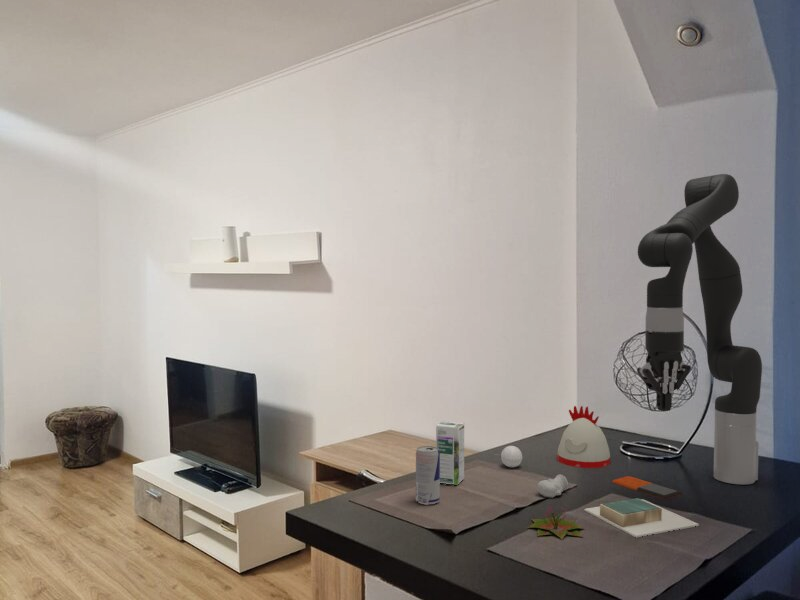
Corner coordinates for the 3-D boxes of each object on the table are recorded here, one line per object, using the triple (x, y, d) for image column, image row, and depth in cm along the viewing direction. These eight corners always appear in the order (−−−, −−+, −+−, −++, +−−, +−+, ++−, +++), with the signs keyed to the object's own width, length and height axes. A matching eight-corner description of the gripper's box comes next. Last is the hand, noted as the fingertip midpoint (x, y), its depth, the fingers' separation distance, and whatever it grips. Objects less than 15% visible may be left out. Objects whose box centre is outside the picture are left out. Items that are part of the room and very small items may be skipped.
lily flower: (522, 519, 142) (522, 498, 142) (580, 520, 141) (580, 498, 141) (530, 542, 130) (530, 519, 130) (593, 543, 129) (593, 520, 129)
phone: (628, 474, 169) (682, 491, 156) (628, 480, 169) (682, 496, 156) (611, 479, 165) (665, 496, 152) (611, 484, 165) (665, 502, 153)
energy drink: (443, 499, 153) (443, 447, 152) (434, 507, 148) (434, 453, 147) (421, 496, 155) (421, 444, 154) (412, 503, 150) (412, 450, 150)
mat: (643, 501, 152) (643, 499, 151) (698, 526, 137) (698, 524, 137) (584, 510, 146) (584, 508, 146) (635, 537, 131) (636, 535, 131)
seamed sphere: (525, 466, 179) (525, 445, 179) (517, 471, 174) (517, 449, 174) (499, 461, 183) (499, 441, 183) (490, 466, 178) (490, 445, 178)
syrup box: (435, 483, 164) (435, 424, 163) (442, 477, 170) (443, 419, 169) (457, 486, 162) (457, 426, 161) (464, 479, 167) (464, 421, 167)
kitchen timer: (569, 451, 194) (569, 399, 193) (616, 459, 186) (617, 405, 185) (549, 462, 183) (550, 407, 182) (599, 471, 175) (600, 413, 174)
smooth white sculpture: (546, 505, 153) (532, 492, 157) (572, 498, 157) (557, 486, 161) (551, 489, 151) (535, 476, 155) (576, 482, 156) (561, 470, 160)
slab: (637, 497, 145) (599, 503, 141) (661, 508, 139) (622, 514, 135) (637, 509, 145) (599, 515, 142) (661, 520, 139) (622, 527, 135)
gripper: (675, 326, 147) (674, 404, 148) (627, 328, 142) (626, 409, 143) (702, 328, 140) (701, 411, 141) (652, 331, 136) (652, 416, 136)
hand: (663, 410), depth 142 cm, fingers closed
